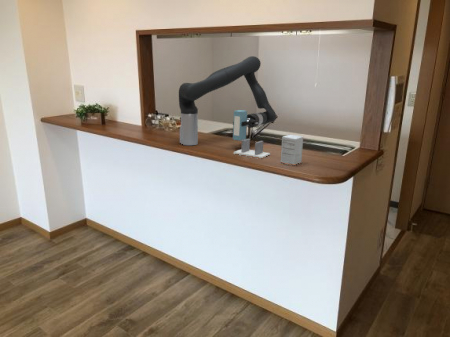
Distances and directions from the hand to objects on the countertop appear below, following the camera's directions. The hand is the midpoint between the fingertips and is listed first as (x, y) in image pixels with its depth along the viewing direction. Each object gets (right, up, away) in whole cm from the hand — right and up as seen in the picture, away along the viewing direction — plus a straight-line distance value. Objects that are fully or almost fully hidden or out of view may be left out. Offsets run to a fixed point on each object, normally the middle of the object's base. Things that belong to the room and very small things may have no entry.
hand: (237, 123), depth 192 cm
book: (+1, -8, +4) cm, 9 cm away
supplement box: (+24, -21, -20) cm, 38 cm away
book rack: (+7, -17, -7) cm, 19 cm away
